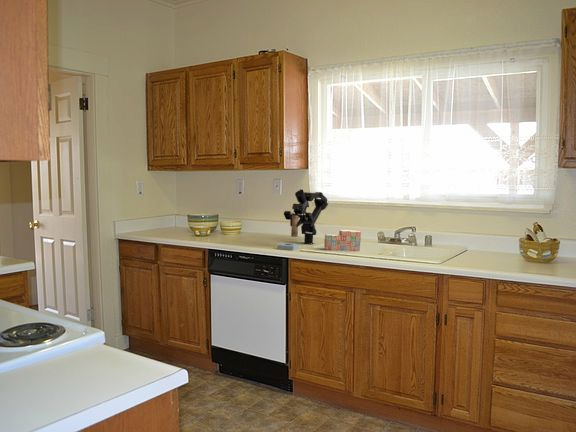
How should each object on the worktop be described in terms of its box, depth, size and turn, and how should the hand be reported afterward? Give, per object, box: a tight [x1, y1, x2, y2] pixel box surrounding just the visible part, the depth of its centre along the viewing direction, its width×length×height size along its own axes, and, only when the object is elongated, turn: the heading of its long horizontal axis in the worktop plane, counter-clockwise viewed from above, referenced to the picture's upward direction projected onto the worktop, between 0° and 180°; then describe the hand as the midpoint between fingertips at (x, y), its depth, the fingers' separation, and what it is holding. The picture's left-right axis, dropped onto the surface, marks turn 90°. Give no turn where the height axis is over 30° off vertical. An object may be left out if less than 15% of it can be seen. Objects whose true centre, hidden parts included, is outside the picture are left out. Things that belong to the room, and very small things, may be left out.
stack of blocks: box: [323, 229, 362, 252], centre depth 321 cm, size 21×6×12 cm, turn 95°
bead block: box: [277, 242, 300, 251], centre depth 317 cm, size 10×10×2 cm
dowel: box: [290, 215, 299, 238], centre depth 323 cm, size 4×4×13 cm
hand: (293, 226), depth 322 cm, fingers closed on dowel, 4 cm apart
